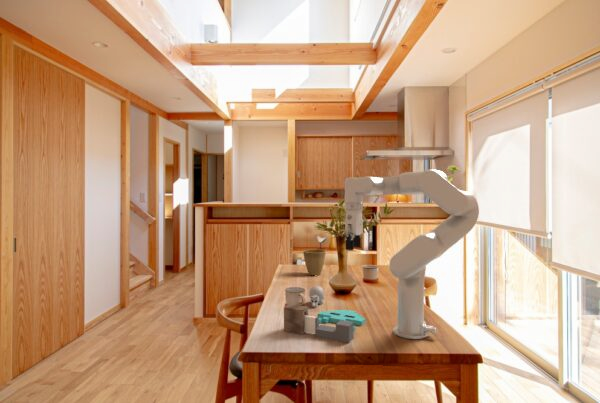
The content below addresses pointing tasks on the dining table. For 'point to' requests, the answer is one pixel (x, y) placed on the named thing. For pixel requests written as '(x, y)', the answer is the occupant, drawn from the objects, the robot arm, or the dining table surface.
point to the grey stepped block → (337, 331)
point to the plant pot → (314, 261)
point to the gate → (311, 324)
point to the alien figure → (341, 317)
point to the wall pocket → (294, 318)
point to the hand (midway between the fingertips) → (353, 248)
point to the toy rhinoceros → (316, 296)
